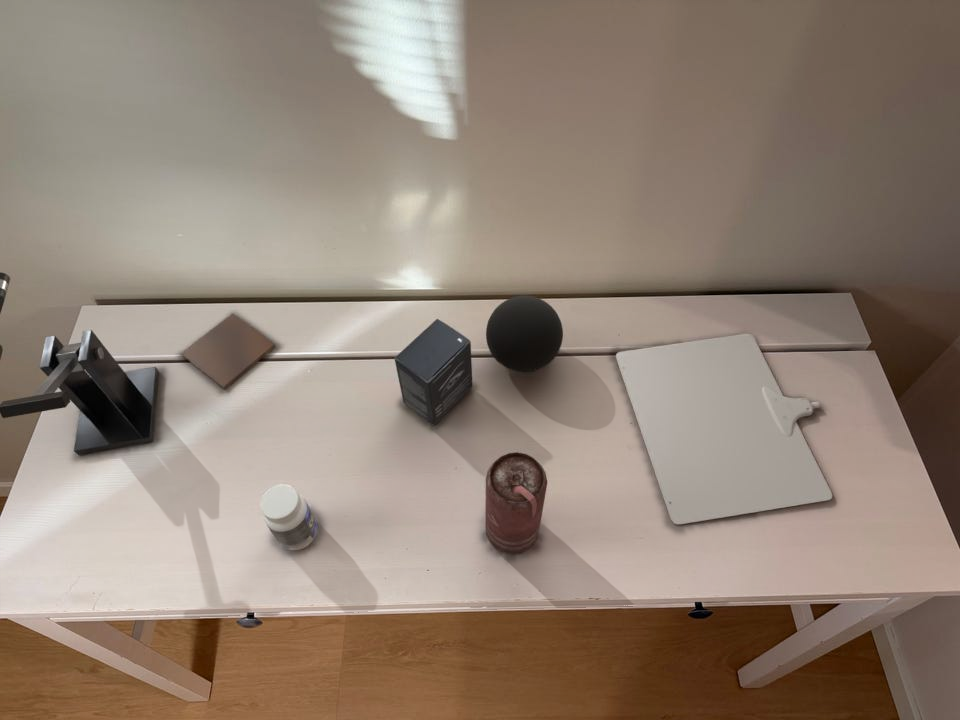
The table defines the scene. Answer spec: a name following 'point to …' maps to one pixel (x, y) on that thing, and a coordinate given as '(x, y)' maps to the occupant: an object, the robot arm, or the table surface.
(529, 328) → the decorative ball
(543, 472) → the can
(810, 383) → the table surface
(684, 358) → the clipboard
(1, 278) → the robot arm
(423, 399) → the box
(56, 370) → the lever
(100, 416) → the bracket
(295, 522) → the pill bottle
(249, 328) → the coaster
